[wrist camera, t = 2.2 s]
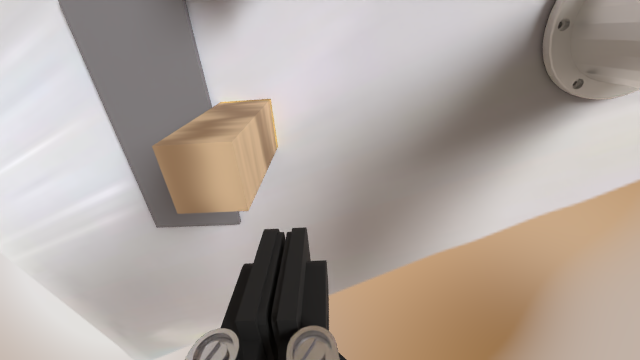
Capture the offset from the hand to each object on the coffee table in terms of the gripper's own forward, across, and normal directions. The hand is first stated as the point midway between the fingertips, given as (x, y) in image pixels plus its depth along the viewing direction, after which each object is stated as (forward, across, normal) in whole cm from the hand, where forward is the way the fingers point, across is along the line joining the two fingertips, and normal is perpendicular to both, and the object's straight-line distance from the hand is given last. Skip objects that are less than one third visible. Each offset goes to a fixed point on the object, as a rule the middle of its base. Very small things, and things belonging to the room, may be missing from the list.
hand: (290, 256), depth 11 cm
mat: (+19, +15, 0) cm, 25 cm away
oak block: (+19, +6, 0) cm, 20 cm away
